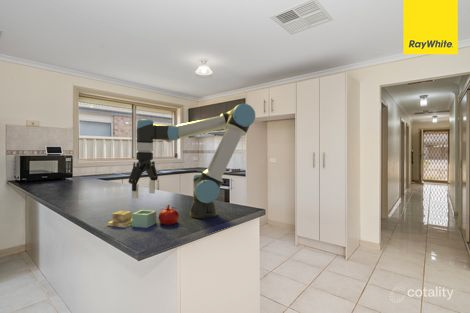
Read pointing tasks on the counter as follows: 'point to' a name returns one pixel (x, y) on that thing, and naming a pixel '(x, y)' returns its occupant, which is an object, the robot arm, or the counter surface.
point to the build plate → (121, 219)
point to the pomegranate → (168, 216)
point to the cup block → (143, 218)
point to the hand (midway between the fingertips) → (144, 195)
